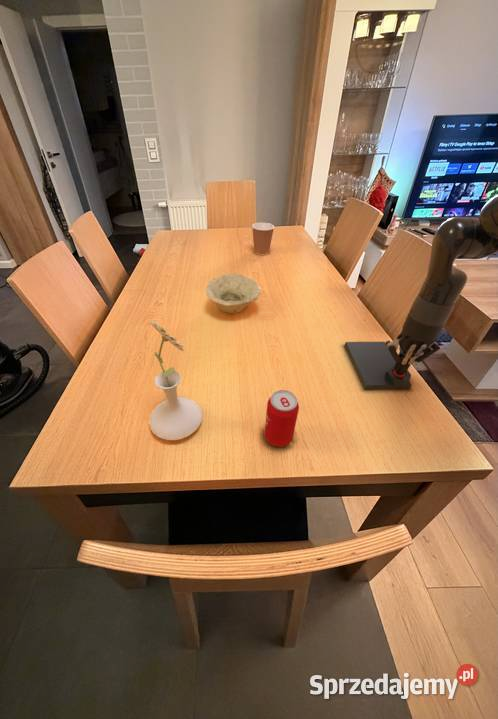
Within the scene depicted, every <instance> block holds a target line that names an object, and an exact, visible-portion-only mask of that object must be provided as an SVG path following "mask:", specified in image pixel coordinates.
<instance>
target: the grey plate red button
mask: <svg viewBox="0 0 498 719" xmlns="http://www.w3.org/2000/svg"><path fill="white" fill-rule="evenodd" d="M385 343H386V341H345V343H344V345H343V346H344V349H345V351H346V353H347V355H348V358H349V359H350V362H351V364H352V366H353V368H354V370H355V373H356V374H357V377H358V380H359V382H360V383H361V385H362V387H363V389H364V390H365V391H376V390H378V391H380V390H381V391H383V390H386V391H387V390H410V389H411V387H412V385H413V383H412V381H410V380H411V379H412V374H411V372H410V371H409V369H408V370H407V372H405V376H404V378H400V377H397V376H395V375H394V374H393V371H394V370H395V369H394V366H395V364H396V361H395V360H394V358H393V357H392V355H391V353H390V351H389V350H388V348H387V346H386V344H385Z"/></svg>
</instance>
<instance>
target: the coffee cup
mask: <svg viewBox="0 0 498 719" xmlns="http://www.w3.org/2000/svg"><path fill="white" fill-rule="evenodd" d="M251 227H252V240H253V252H254V253H255V254H256V255H261V256H264V255H267V254H269V253H270V251H271V250H270V249H271V244H272V241H273V240H272V239H273V234H274V229H275V225H274V224H272V223H270V222H255V223H252V225H251Z"/></svg>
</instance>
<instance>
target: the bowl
mask: <svg viewBox="0 0 498 719" xmlns="http://www.w3.org/2000/svg"><path fill="white" fill-rule="evenodd" d="M205 295H206V297H207V298H208V299H209V300H210V301H212V302H213V303H214V304H216V305H217V306H218V307H219V308H220V310H222V311H223V312H225V313H227V314H237V313H241V312H242V311H243V310H244V309H246V308H247V307H248V306H249V305H250V304H251V303H252V302H254V301H257V300H258V299H259V297H260V295H261V287H260V285H259V284H258V282H256V280H254V279H252V278H251V277H249V276H247V275H244V274H237V273H224V274H222V275H221V276H218V277H215V278H213V279H211V280H210V281H209V282H208V283H207V285H206V289H205Z"/></svg>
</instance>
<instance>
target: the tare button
mask: <svg viewBox="0 0 498 719" xmlns="http://www.w3.org/2000/svg"><path fill="white" fill-rule="evenodd" d="M393 374H394V375H395V376H397V377H400V378H404V376H405V373H404V374H400V375H398V374H397V373H396V371H395V370H394V371H393Z"/></svg>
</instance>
